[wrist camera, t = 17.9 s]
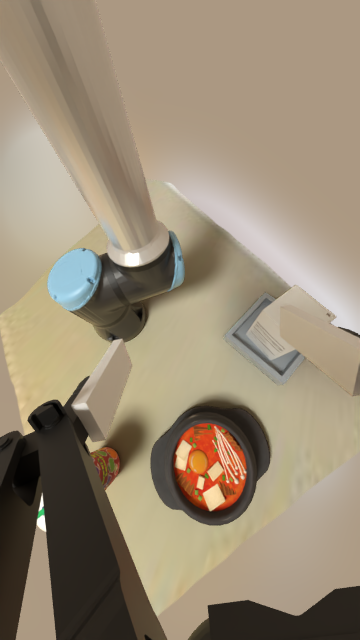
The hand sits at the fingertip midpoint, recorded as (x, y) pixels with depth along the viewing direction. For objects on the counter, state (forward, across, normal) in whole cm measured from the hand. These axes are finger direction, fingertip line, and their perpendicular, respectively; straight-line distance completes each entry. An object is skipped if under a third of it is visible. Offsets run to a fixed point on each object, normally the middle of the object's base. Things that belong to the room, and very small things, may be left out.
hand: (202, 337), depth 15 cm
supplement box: (+27, +19, -18) cm, 37 cm away
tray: (+27, +19, -19) cm, 38 cm away
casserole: (+12, -2, -35) cm, 37 cm away
